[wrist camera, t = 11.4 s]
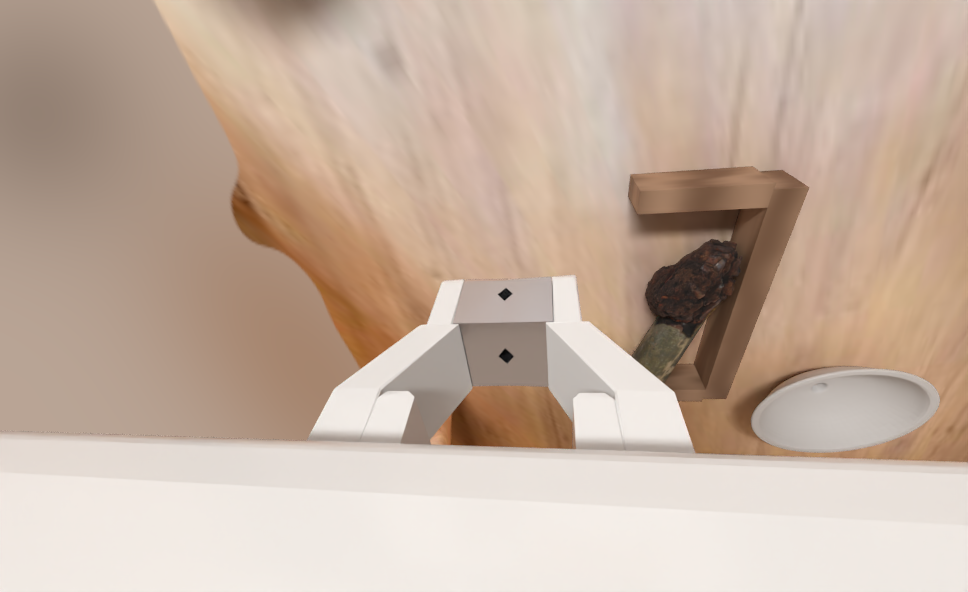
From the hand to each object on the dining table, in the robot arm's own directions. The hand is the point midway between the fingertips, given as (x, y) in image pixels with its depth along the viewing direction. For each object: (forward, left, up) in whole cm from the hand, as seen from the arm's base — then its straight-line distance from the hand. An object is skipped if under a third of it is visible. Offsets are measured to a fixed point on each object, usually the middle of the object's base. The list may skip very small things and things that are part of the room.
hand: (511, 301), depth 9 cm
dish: (-33, +34, -29) cm, 56 cm away
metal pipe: (-14, +22, -29) cm, 39 cm away
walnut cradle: (-14, +20, -28) cm, 38 cm away
